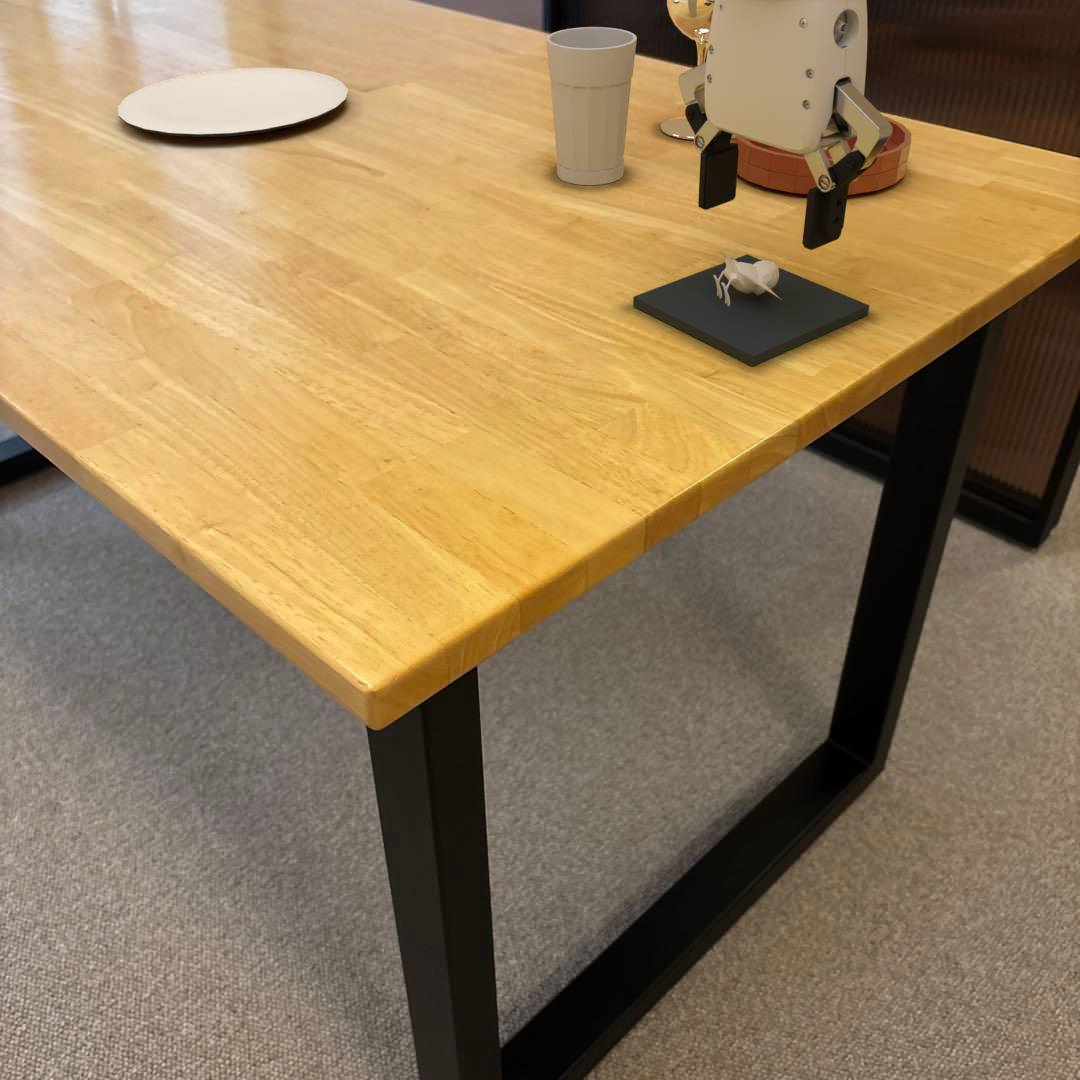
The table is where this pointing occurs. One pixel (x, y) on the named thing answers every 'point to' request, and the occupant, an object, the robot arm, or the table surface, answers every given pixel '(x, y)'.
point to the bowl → (796, 177)
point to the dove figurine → (748, 277)
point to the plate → (232, 102)
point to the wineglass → (693, 18)
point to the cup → (590, 101)
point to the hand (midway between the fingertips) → (766, 223)
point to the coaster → (750, 312)
